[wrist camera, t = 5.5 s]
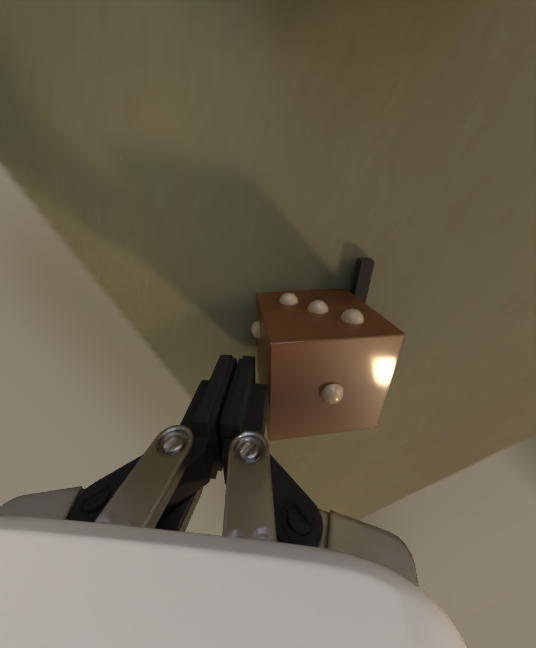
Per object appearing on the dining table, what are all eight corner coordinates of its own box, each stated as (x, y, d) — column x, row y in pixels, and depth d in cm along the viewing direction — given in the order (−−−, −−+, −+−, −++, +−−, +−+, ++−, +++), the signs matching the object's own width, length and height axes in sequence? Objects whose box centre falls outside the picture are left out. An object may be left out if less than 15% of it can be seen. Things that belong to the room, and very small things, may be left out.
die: (247, 285, 14) (258, 340, 9) (348, 281, 15) (418, 329, 10) (250, 369, 17) (260, 451, 12) (334, 362, 18) (381, 436, 13)
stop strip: (357, 257, 15) (360, 260, 14) (370, 258, 14) (375, 261, 14) (334, 382, 19) (336, 389, 18) (344, 383, 19) (346, 390, 18)
